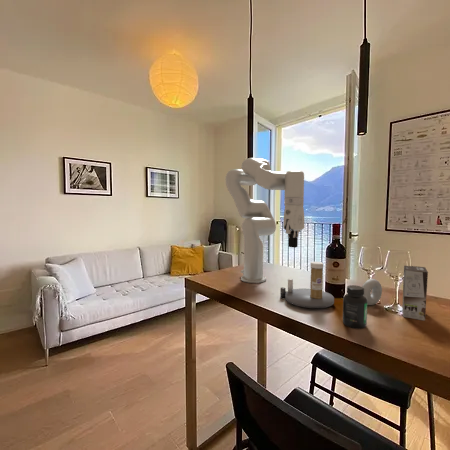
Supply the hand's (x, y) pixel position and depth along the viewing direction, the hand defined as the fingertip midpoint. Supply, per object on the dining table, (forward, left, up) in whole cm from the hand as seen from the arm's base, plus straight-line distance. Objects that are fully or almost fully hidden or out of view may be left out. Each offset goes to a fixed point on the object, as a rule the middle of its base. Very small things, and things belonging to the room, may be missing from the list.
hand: (292, 247), depth 112 cm
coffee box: (+37, +20, -21) cm, 47 cm away
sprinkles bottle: (+11, +1, -18) cm, 21 cm away
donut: (+24, +17, -21) cm, 36 cm away
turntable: (+8, 0, -19) cm, 21 cm away
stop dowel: (-1, -5, -21) cm, 21 cm away
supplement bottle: (+30, -4, -21) cm, 36 cm away
